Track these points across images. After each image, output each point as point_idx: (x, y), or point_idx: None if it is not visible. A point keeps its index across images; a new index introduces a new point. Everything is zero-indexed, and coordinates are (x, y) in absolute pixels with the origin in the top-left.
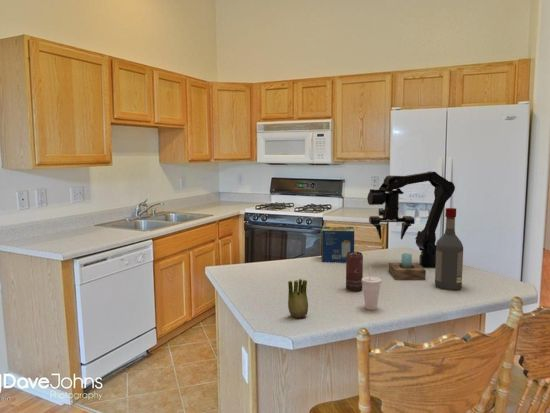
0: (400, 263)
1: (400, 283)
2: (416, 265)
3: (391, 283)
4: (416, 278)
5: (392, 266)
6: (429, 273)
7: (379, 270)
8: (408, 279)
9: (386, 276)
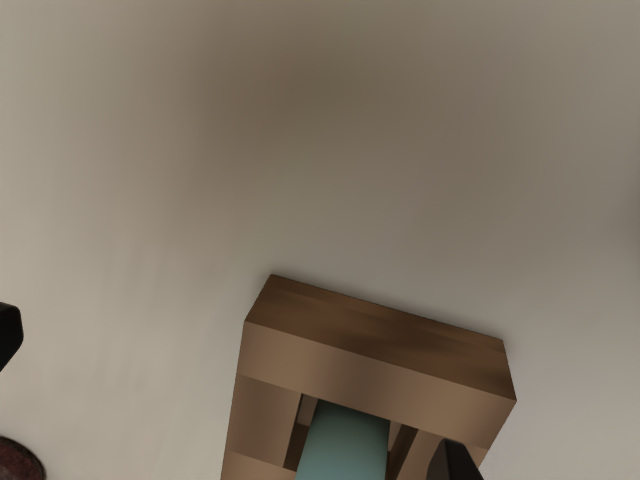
0: (338, 375)
1: None
2: None
3: (202, 461)
4: None
5: (231, 419)
6: (573, 401)
7: (208, 224)
8: None
9: (214, 362)
